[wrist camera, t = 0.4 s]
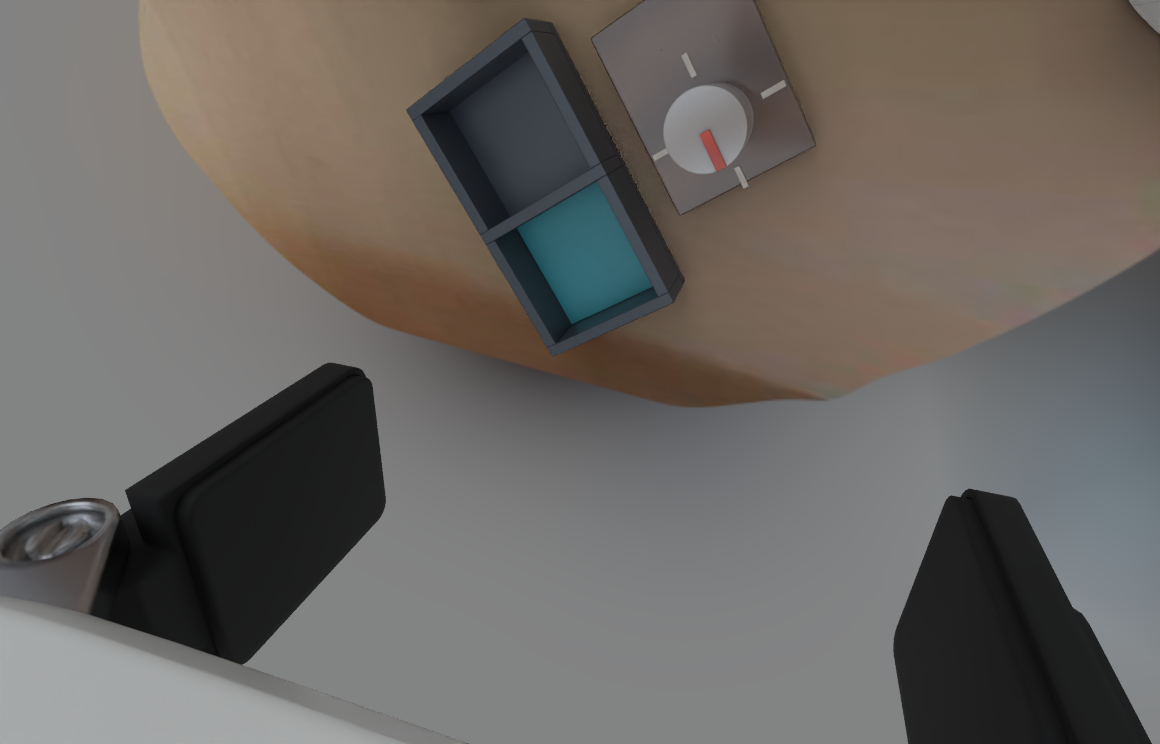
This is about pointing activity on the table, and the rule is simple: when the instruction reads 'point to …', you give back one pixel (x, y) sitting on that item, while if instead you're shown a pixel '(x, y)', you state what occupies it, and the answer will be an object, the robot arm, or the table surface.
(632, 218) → the compartment box
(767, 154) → the tap panel
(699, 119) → the tap knob
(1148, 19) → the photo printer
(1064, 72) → the table surface
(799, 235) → the table surface
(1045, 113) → the table surface
